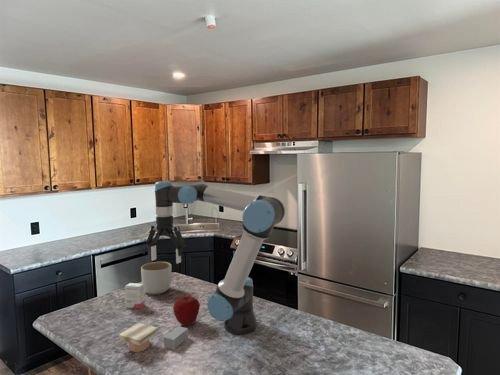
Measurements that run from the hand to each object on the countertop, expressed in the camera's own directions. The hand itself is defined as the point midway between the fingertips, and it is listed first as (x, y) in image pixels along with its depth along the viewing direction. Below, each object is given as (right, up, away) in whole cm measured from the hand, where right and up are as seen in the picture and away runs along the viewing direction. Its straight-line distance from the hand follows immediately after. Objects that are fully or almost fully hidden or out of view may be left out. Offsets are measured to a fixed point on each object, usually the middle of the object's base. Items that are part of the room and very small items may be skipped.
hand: (166, 261), depth 155 cm
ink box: (-22, -29, +23) cm, 43 cm away
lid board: (-7, -27, -16) cm, 32 cm away
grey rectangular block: (+7, -31, -12) cm, 34 cm away
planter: (-16, -27, +43) cm, 54 cm away
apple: (+9, -30, +4) cm, 32 cm away
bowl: (-7, -32, -15) cm, 36 cm away
